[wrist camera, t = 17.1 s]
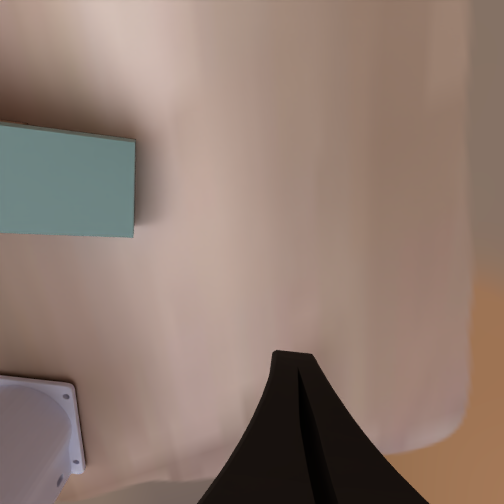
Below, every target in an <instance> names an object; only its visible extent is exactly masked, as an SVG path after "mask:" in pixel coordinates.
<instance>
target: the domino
mask: <svg viewBox="0 0 504 504" xmlns="http://www.w3.org/2000/svg"><path fill="white" fill-rule="evenodd" d="M135 147H136V139H129V138H121V137H114V136H106V135H99V134H91V133H84V132H76V131H68V130H61V129H53V128H46V127H38V126H31V125H23V124H15V123H8V122H0V233H18V234H45V235H73V236H101V237H128V238H133V234H134V203H135Z"/></svg>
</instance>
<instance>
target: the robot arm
mask: <svg viewBox="0 0 504 504" xmlns="http://www.w3.org/2000/svg"><path fill="white" fill-rule="evenodd" d="M85 468H86V466H85V459H84V452H83V444H82V437H81V430H80V423H79V415H78V408H77V401H76V394H75V388H74V386H73V385H72V384H70V383H66V382H57V381H48V380H39V379H30V378H21V377H12V376H3V375H0V504H54V502H55V500H56V499H57V497H58V495H59V493H60V492H61V490H62V488H63V487H64V485H65V483H66V481H67V480H68V478H69V476H70V474H71V473H73V474H81V473H83V472H84V470H85ZM197 504H429V503H428V502H427V501H426V500H425V499H424V498H423V497H422V496H421V495H420V494H419V493H418V492H417V491H416V490H415V489H414V488H413V487H412V486H411V485H410V484H409V483H408V482H407V481H406V480H405V479H404V478H403V477H402V476H401V475H400V474H399V473H398V472H397V471H396V470H395V469H394V467H393V466H392V465H391V464H390V463H389V462H388V461H387V460H386V459H385V457H384V456H383V455H382V454H381V453H380V452H379V450H378V449H377V448H376V447H375V446H374V445H373V443H372V442H371V441H370V440H369V438H368V437H367V436H366V435H365V433H364V432H363V431H362V430H361V428H360V427H359V425H358V424H357V423H356V421H355V420H354V419H353V417H352V416H351V415H350V413H349V412H348V410H347V409H346V408H345V406H344V405H343V403H342V402H341V400H340V399H339V397H338V396H337V394H336V393H335V391H334V390H333V388H332V386H331V385H330V383H329V382H328V380H327V378H326V377H325V375H324V373H323V372H322V370H321V368H320V366H319V365H318V363H317V361H316V359H315V357H314V356H313V355H312V354H308V353H299V352H290V351H280V350H276V351H274V352H273V353H272V360H271V367H270V374H269V378H268V381H267V383H266V386H265V389H264V392H263V395H262V397H261V399H260V402H259V404H258V406H257V408H256V411H255V413H254V415H253V417H252V419H251V421H250V423H249V425H248V427H247V429H246V431H245V432H244V434H243V436H242V438H241V440H240V441H239V443H238V445H237V446H236V448H235V450H234V451H233V453H232V455H231V456H230V458H229V459H228V461H227V462H226V464H225V466H224V467H223V469H222V470H221V472H220V473H219V474H218V476H217V477H216V478H215V480H214V481H213V483H212V484H211V485H210V487H209V488H208V490H207V491H206V492H205V494H204V495H203V496H202V498H201V499H200V500H199V502H198V503H197Z"/></svg>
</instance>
